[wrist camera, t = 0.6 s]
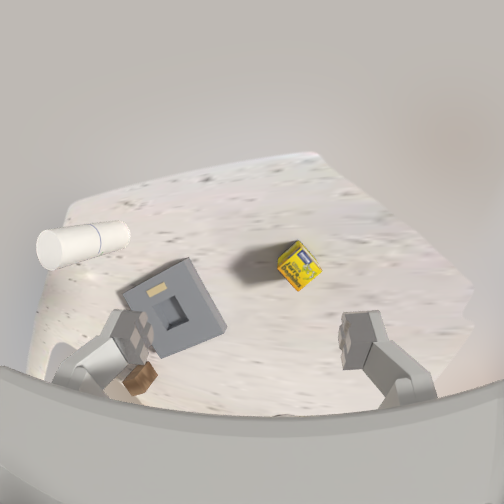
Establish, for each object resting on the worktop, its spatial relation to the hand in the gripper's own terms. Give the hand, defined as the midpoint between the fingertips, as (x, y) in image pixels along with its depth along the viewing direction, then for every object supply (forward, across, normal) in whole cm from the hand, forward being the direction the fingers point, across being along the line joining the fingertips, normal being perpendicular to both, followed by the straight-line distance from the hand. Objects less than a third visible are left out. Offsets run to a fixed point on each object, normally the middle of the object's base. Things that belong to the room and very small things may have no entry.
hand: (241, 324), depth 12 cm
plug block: (+31, -33, -56) cm, 72 cm away
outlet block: (+39, -22, -39) cm, 60 cm away
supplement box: (+44, +6, -29) cm, 53 cm away
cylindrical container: (+47, -36, -24) cm, 64 cm away
